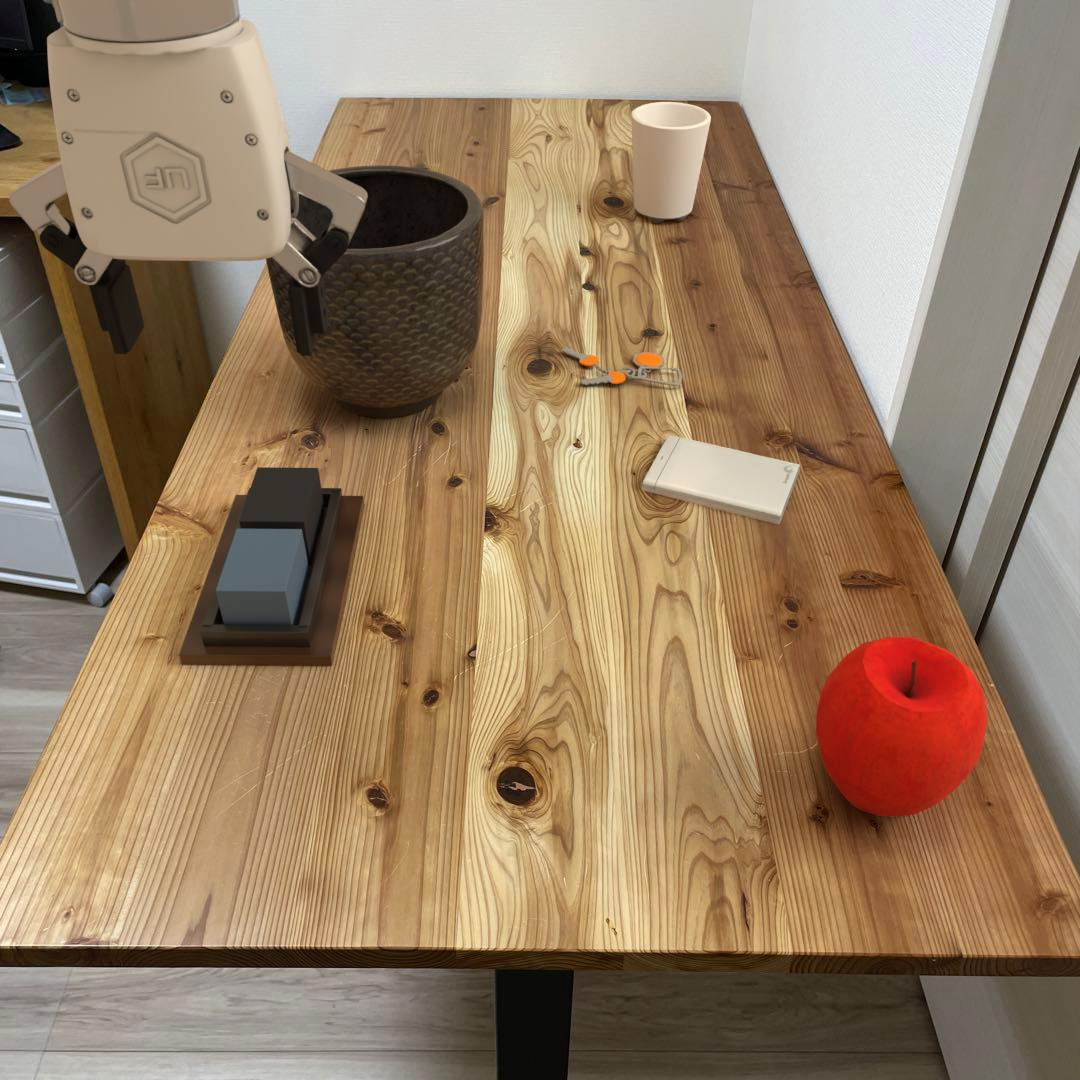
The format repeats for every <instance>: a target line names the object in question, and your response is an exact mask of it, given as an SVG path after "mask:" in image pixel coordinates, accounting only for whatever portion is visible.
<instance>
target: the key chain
mask: <svg viewBox="0 0 1080 1080" xmlns="http://www.w3.org/2000/svg"><path fill="white" fill-rule="evenodd" d="M560 352H562V353H564V354H567V355H569V356H571V357H574V358H576V359H578V360H579V361H578V363H579V364H580V365H582V366H585V367H594V368H595V369H597V370H598V371H599V372H601V373H603V374H605V376H604V375H603V376H598V377H590V378H582V379H580V384H581V385H583V386H584V385H585V386H588V385H599V384H608V383H610V384H611V385H619V384H622V383H624V382H625V381H626V380H629V379H631V380H635V381H636V380H638V381H639V380H640V381H644V382H648V383H649V382H650V383H655V384H658V385H665V386H671V387H678V386H680V384H681V383H682V381H683V374H682V371H681V369H679V367H673V366H672V367H663V366H664V365H665V358H664V357H663V355H661V354H659V353H656V352H652V351H643V352H639V353H637V354H635V355H634V356H633V364H634V365H635V366H636V367H637V368H638V369H634V368H633V367H630V366H623V367H620V368H618V370H617V371H614V370H613V371H609V370H606V369H603V368H602V367H600V366H599V365H598V364H599V362H600V360H599V357H597V356H596V355H594V354H586V353H581V352H580V350H575V349H571V348H570V347H566V346H565V347H562V348H561V350H560ZM653 370H669V371H670V370H671V371H672V372H673V371H674V372H676V373H677V376H678V378H677V381H676V382H670V381H667V380H659V379H655V378H650V377H648V374H647V373H651V371H653ZM622 371H625V372H622ZM636 374H637V375H636Z"/></svg>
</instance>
